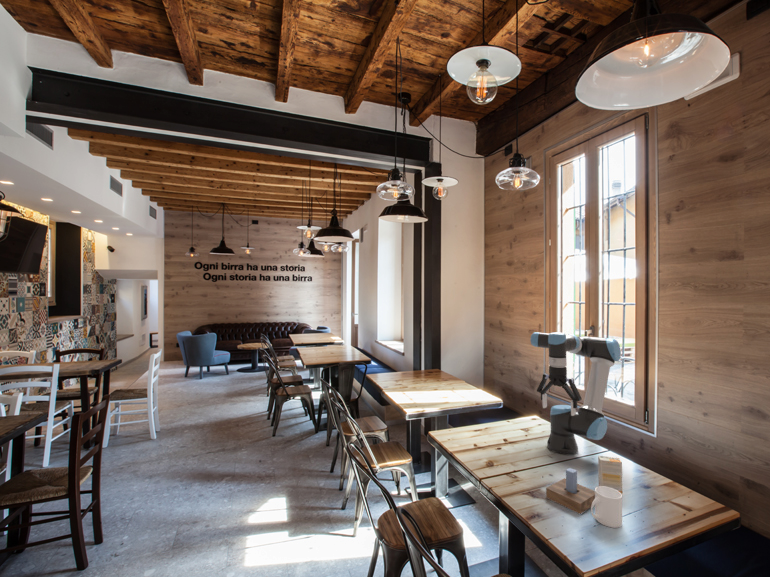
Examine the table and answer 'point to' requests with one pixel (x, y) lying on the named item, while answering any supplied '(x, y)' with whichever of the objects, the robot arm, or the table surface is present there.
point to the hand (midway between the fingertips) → (558, 411)
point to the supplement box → (610, 472)
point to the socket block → (571, 496)
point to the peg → (571, 481)
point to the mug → (607, 506)
